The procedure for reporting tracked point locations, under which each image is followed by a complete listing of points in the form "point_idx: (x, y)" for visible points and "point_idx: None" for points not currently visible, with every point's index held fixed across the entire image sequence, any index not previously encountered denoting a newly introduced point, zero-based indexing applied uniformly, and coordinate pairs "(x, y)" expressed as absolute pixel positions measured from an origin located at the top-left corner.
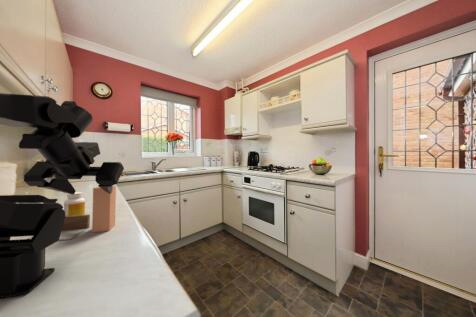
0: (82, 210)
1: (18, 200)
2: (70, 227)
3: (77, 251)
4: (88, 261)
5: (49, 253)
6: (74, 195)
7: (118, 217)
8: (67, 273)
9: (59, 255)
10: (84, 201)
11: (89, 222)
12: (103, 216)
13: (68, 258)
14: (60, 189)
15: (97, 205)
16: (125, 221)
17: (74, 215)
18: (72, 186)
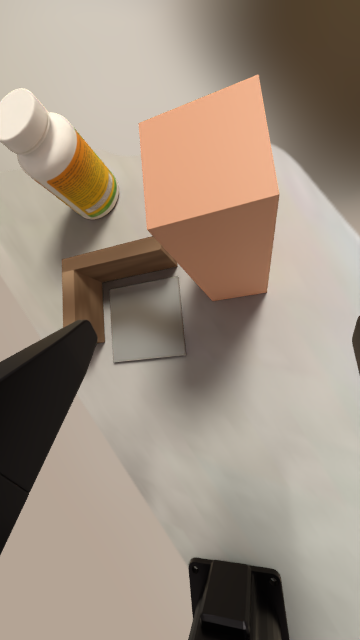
0: (98, 172)
1: None
2: (131, 272)
3: (260, 451)
4: (344, 541)
5: (189, 442)
6: (27, 140)
7: None
8: (326, 600)
9: (224, 465)
10: (75, 135)
11: None
12: (242, 280)
13: (264, 495)
14: (41, 459)
15: (208, 268)
16: None
17: (115, 247)
18: (53, 348)
